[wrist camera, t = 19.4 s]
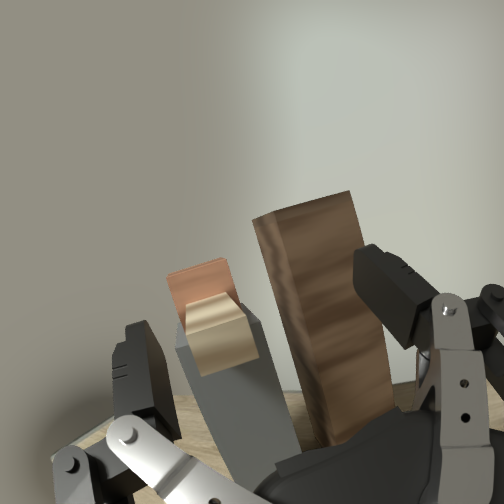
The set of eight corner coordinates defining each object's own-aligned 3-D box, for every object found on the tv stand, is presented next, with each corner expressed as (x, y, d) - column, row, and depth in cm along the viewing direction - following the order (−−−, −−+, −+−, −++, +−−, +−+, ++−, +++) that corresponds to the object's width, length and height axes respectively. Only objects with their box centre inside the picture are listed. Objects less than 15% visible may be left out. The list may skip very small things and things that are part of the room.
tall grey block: (313, 488, 30) (260, 321, 29) (250, 511, 29) (175, 348, 27) (289, 447, 40) (241, 302, 39) (237, 466, 39) (177, 323, 37)
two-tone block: (273, 352, 21) (247, 265, 20) (186, 381, 20) (154, 294, 19) (237, 308, 36) (221, 257, 36) (186, 324, 35) (169, 273, 35)
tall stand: (398, 445, 33) (349, 190, 30) (343, 475, 31) (273, 210, 29) (363, 414, 42) (312, 202, 40) (315, 437, 41) (251, 220, 39)
